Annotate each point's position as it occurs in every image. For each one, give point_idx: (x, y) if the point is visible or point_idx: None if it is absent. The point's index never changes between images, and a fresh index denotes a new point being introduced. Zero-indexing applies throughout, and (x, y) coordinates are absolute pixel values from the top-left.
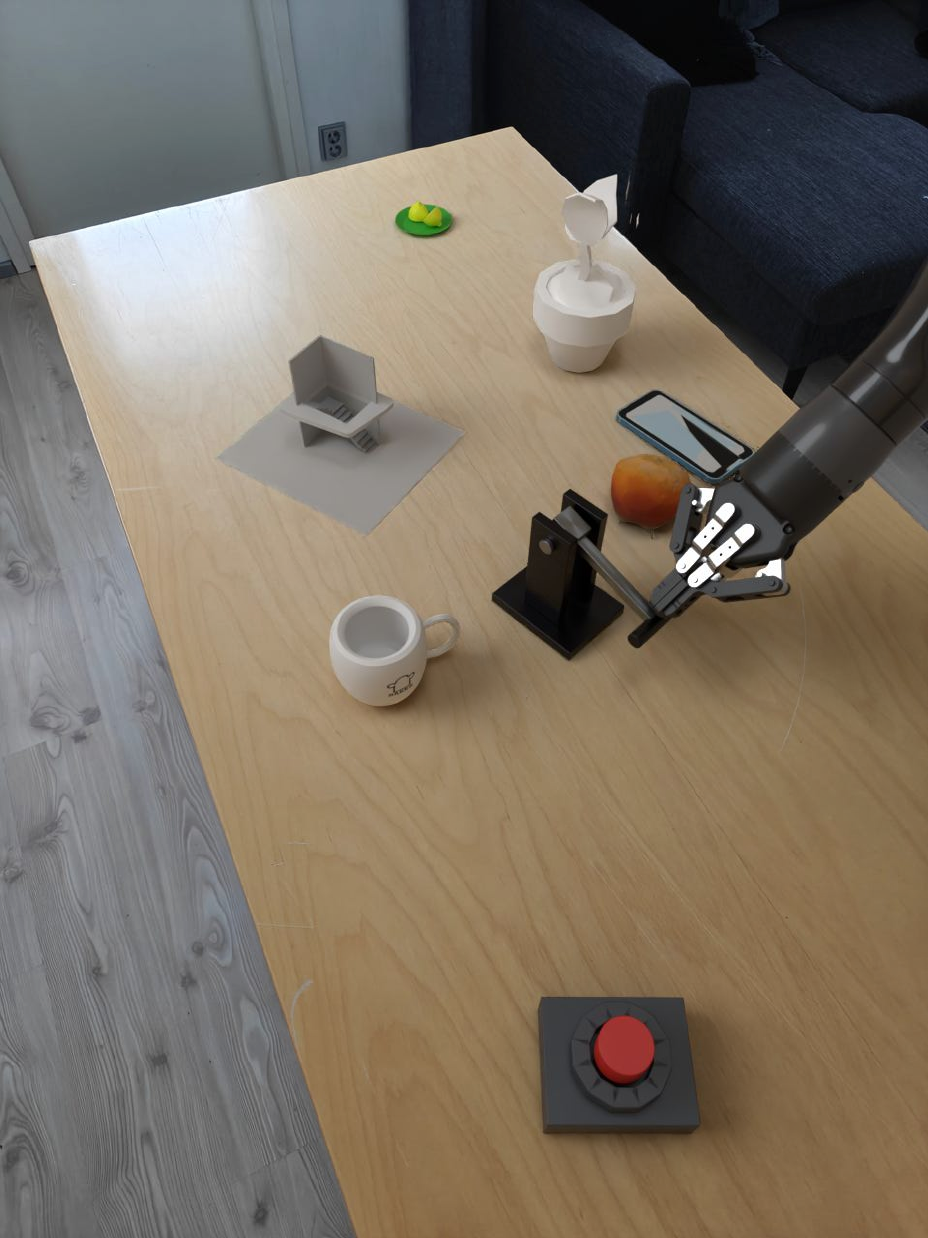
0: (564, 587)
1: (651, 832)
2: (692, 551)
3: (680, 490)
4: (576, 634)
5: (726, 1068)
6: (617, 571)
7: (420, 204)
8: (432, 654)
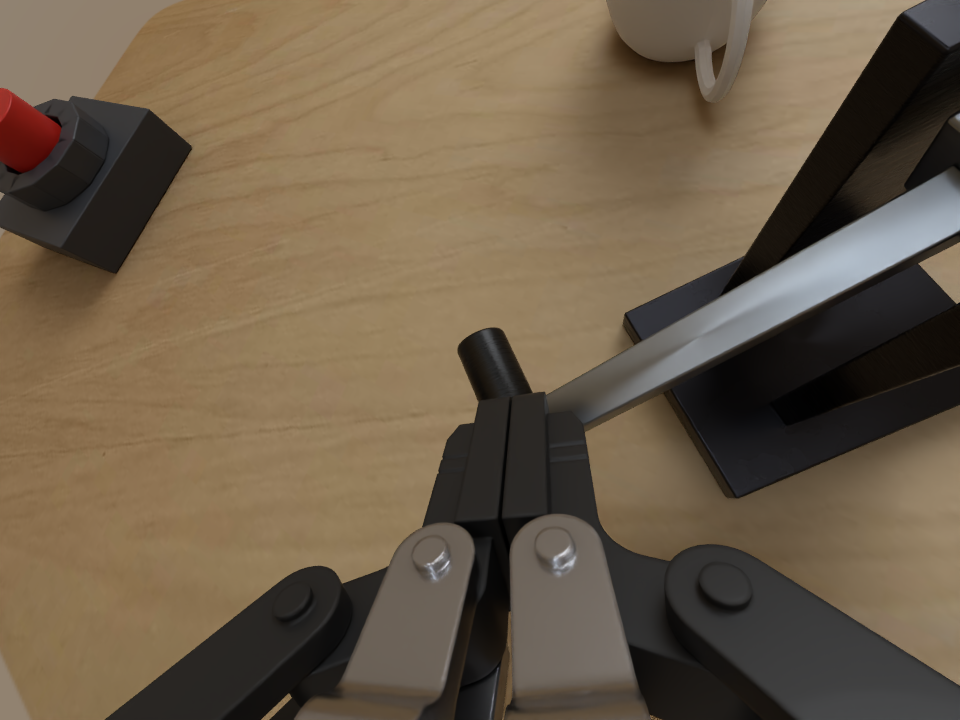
0: (761, 231)
1: (277, 332)
2: (590, 661)
3: None
4: None
5: (54, 301)
6: (737, 336)
7: None
8: (699, 68)
